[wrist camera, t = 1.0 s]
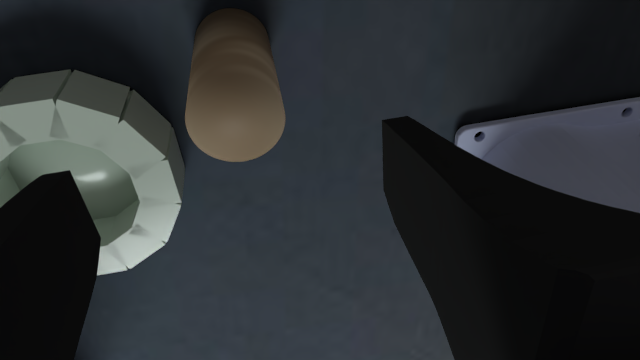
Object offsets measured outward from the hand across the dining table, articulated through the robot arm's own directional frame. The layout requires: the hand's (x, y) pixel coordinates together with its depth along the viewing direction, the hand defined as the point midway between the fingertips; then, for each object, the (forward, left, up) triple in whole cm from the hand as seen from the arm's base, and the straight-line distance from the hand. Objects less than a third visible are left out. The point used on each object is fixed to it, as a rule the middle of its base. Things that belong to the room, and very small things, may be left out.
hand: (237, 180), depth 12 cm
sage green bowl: (+7, +4, -9) cm, 12 cm away
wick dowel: (0, 0, -9) cm, 9 cm away
